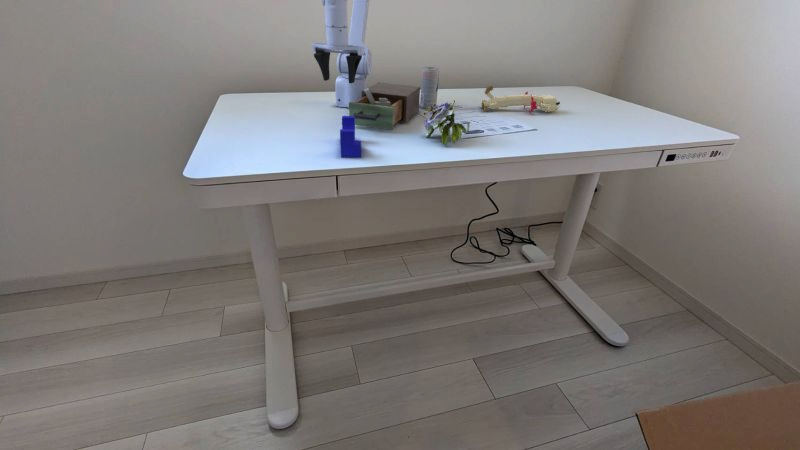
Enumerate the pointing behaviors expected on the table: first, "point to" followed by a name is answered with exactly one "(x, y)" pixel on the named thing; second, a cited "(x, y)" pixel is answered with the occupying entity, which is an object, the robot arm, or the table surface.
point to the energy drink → (429, 86)
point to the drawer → (377, 112)
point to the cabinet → (402, 92)
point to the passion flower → (440, 118)
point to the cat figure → (520, 101)
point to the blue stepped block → (349, 138)
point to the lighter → (381, 101)
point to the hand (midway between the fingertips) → (339, 81)
